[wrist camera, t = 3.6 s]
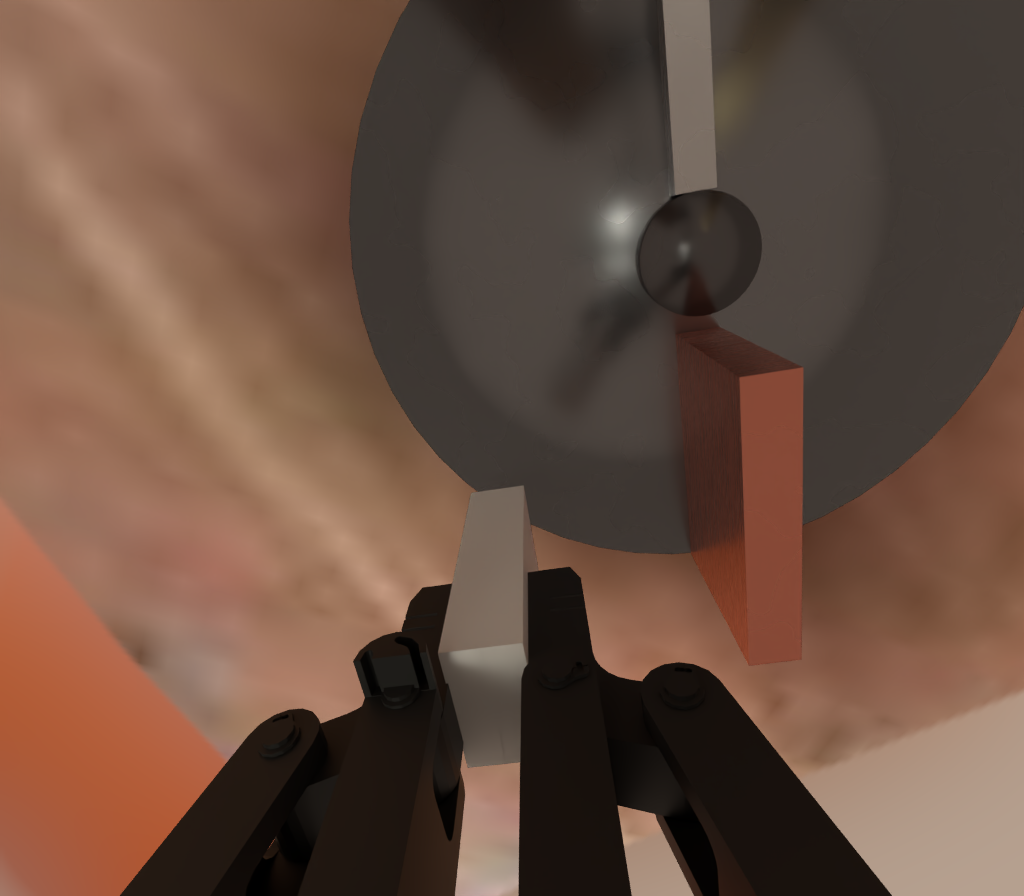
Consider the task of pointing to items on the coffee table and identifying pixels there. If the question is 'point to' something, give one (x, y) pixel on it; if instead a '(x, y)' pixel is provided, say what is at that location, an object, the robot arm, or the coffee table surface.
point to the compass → (691, 259)
